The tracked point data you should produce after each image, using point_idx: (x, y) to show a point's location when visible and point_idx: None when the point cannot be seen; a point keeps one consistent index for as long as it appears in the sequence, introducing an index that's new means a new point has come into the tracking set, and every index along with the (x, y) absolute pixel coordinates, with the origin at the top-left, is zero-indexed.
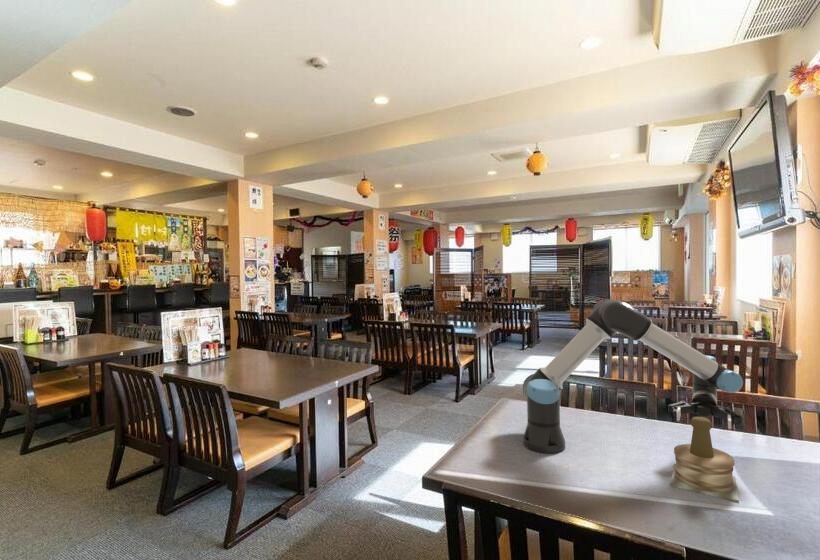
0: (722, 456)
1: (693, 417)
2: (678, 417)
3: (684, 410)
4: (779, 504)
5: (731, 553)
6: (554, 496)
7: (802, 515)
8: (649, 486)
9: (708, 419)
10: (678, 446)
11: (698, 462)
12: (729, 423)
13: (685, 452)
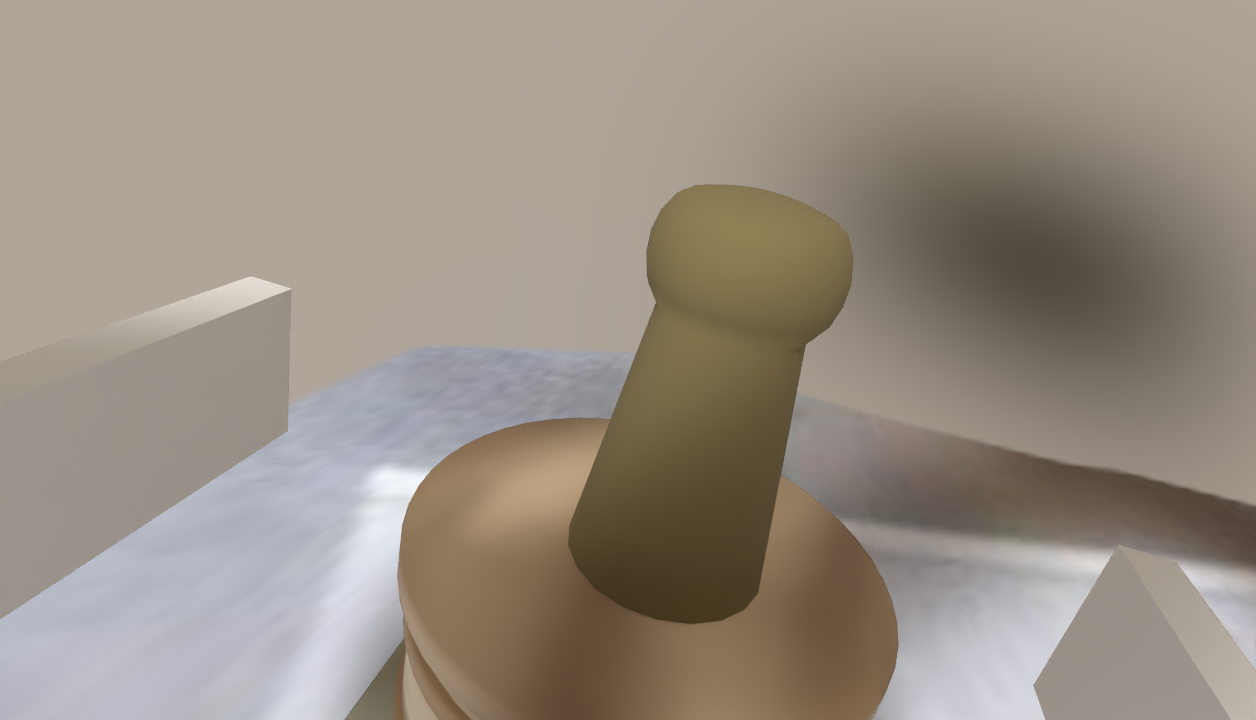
0: (496, 517)
1: (841, 231)
2: (1083, 636)
3: None
4: (242, 536)
5: None
6: (1194, 523)
7: None
8: (926, 631)
9: (691, 190)
10: (866, 674)
11: None
12: (275, 334)
13: (796, 560)
